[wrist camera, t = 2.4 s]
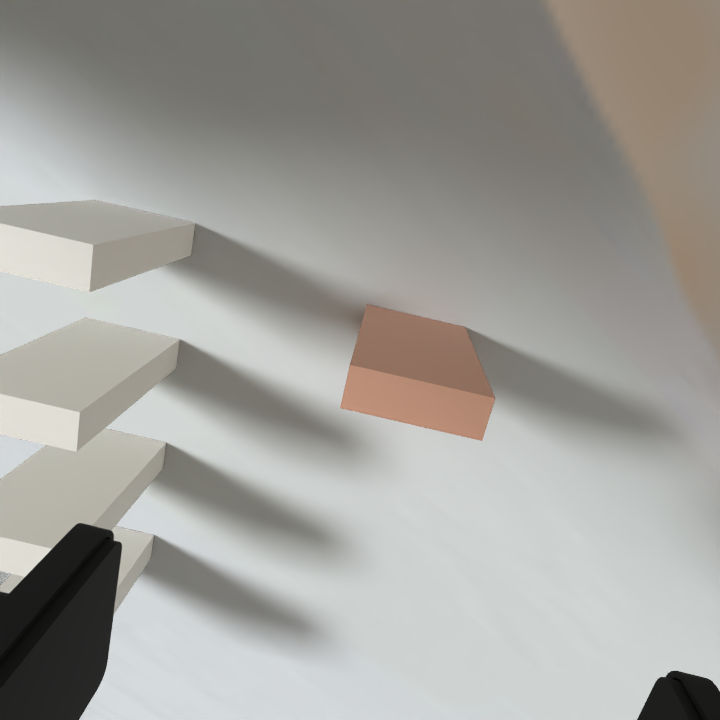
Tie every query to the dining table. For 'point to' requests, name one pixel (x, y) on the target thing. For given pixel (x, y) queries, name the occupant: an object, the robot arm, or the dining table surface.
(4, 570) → the domino
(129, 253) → the domino
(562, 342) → the dining table surface
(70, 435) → the domino
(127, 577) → the domino
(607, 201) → the dining table surface
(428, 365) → the domino
